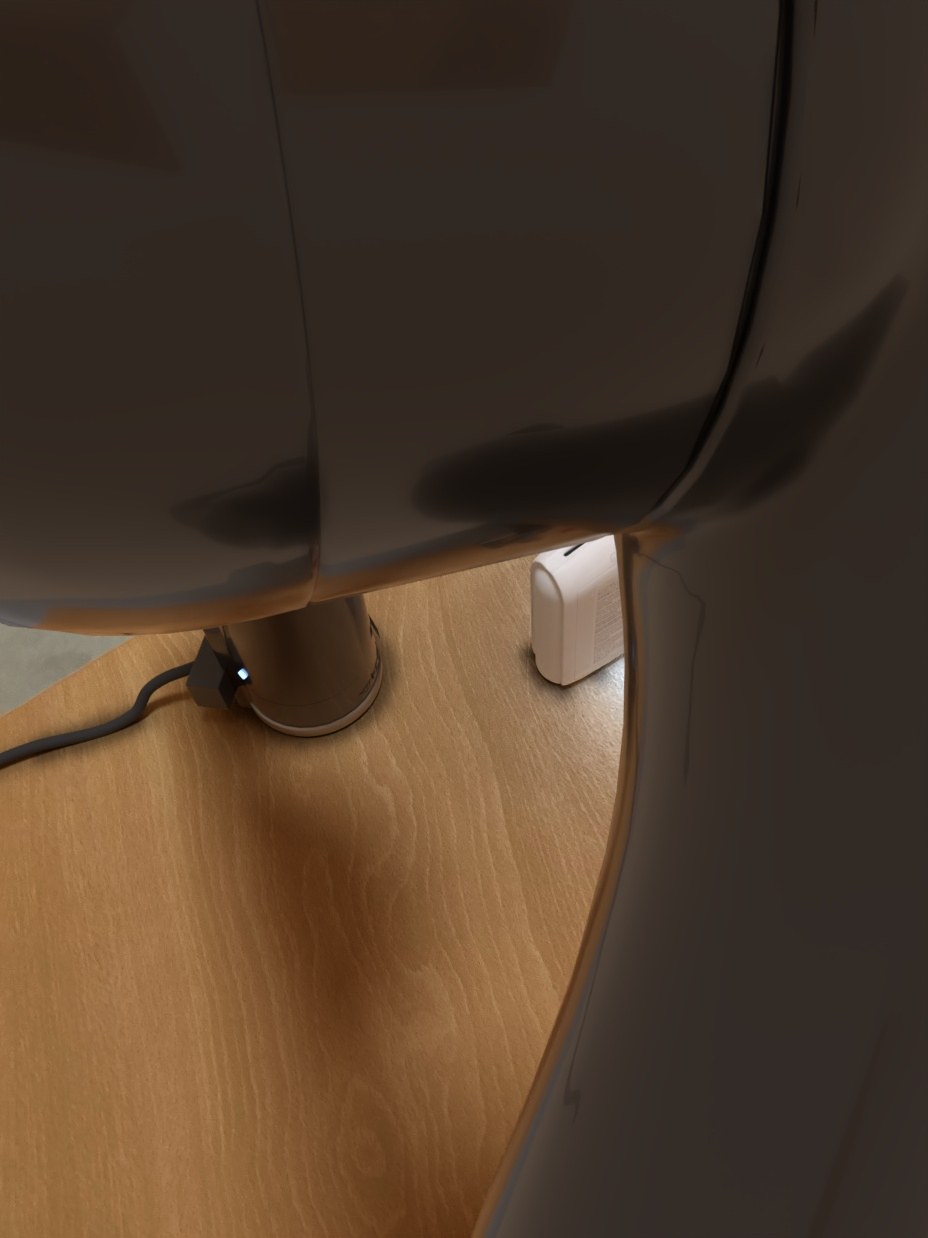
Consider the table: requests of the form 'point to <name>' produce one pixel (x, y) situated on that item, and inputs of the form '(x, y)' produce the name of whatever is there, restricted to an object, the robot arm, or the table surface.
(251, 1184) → the table surface
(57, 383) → the robot arm
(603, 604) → the photo printer
